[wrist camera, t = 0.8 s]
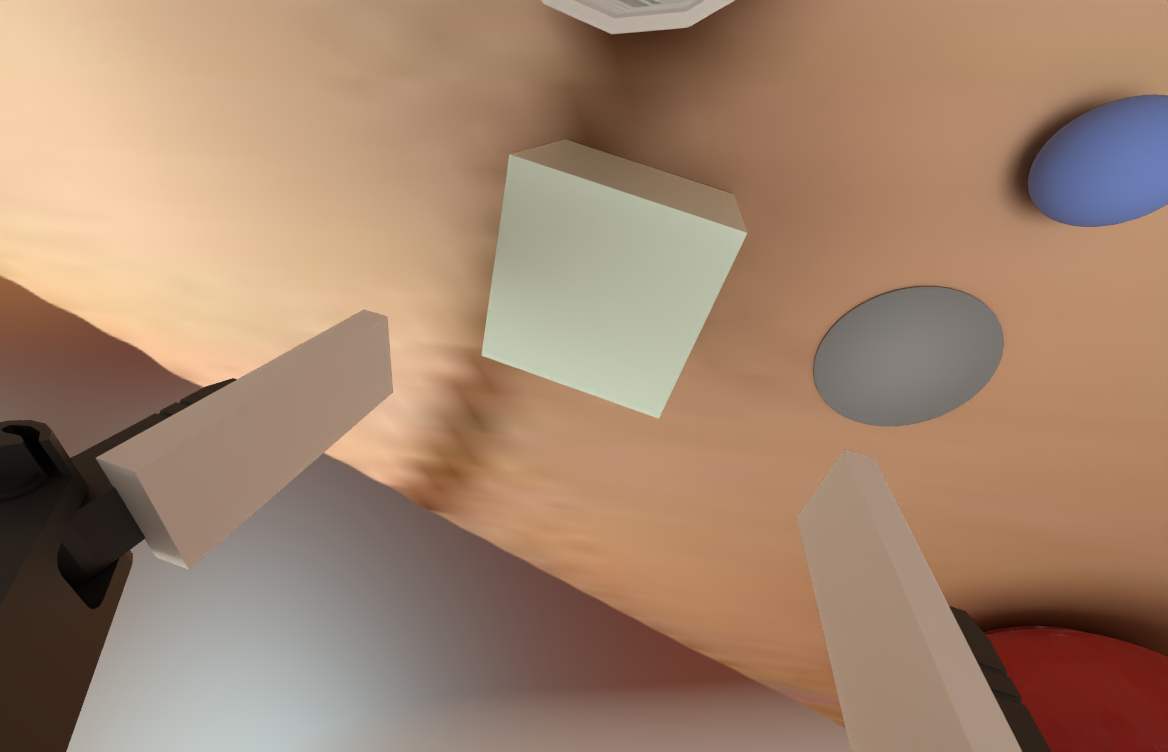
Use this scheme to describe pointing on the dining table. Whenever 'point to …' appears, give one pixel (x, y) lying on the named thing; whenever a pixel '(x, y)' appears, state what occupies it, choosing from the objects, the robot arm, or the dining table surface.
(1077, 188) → the ball
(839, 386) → the grey spot
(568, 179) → the pale green brick
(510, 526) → the dining table surface
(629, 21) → the plastic cup
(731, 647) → the dining table surface
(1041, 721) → the mixing bowl
